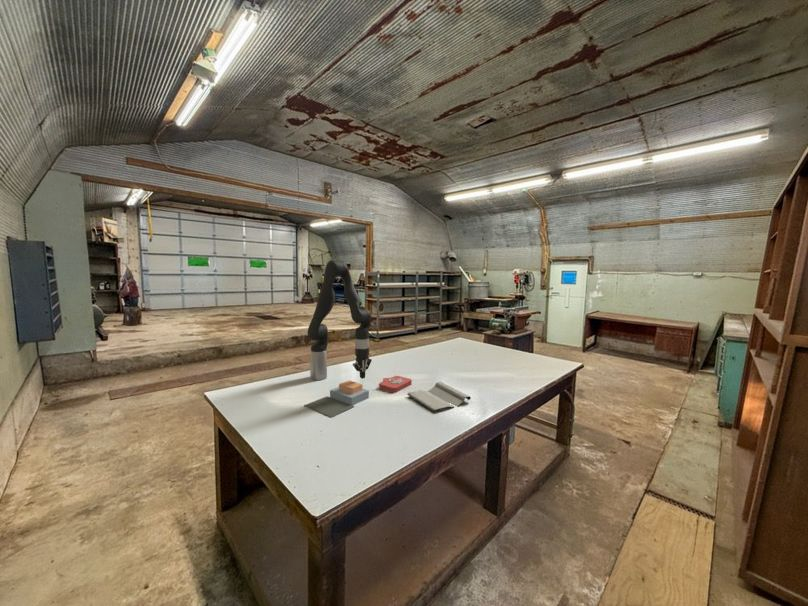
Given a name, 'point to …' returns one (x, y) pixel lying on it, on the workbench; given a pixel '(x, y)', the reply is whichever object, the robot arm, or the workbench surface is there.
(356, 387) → the orange block
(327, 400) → the pad
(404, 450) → the workbench surface
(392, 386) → the red flat case
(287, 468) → the workbench surface
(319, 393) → the workbench surface
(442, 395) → the mat
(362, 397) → the block
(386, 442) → the workbench surface
